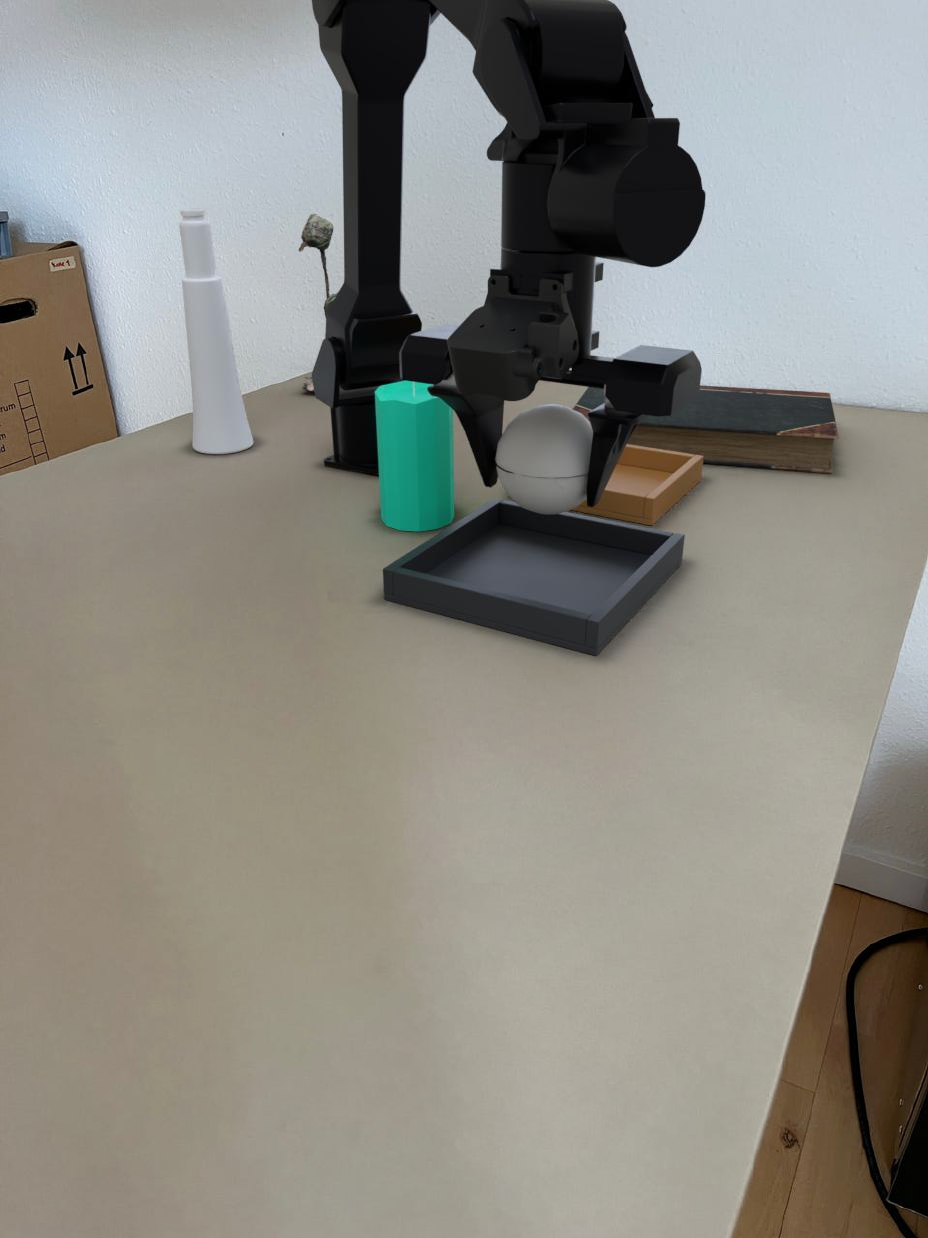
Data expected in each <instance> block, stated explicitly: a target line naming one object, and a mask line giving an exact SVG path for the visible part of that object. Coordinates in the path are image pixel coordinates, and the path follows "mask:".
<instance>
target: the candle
mask: <svg viewBox="0 0 928 1238" xmlns="http://www.w3.org/2000/svg"><path fill="white" fill-rule="evenodd" d="M432 385H433V384H426V383H419V382H412V381H401V382H396V383H391V384H386V385H382V386H379V387H378V389H377V390H376V391H375V407H376V426H377V445H378V464H379V474H378V481H379V498H380V499H379V500H380V515H381V516H380V519H381V521H382V522H383V524H384V525H385V526H386V527H389V528H392V529H395V530H399V531H404V532H405V531H406V532H407V531H408V532H426V531H432V530H439V529H441V528H443V527H445V526H449V525H450V524H452V522H453V520H454V518H455V464H454V463H455V462H454V461H455V460H454V458H455V457H454V456H455V455H454V410H453V409H452V408H451V407H450V406H449V405H447V404H446V403H445V402H444V401H443V400H442V399H440V398H439V397H435V396H431V395H430V394H429V392H428V390H427V388H428V387H429V386H432Z"/></svg>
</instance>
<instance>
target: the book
mask: <svg viewBox="0 0 928 1238" xmlns="http://www.w3.org/2000/svg"><path fill="white" fill-rule="evenodd" d="M604 403H605V396H604V389H601V388H593V387H587V388H586V389H585V391H584V392H583V394H582V395H581V396H580V398H579V399H578V401H577V402H576V403H575V405H574V406H573V407H572V409H573V410H575V411H577V412H579V413H581V414H583V415H584V416H585V418H586V419H587V420H588V421H589V422H590V420H589V417H588V413H589V412H590V411H592V410H594V409H595V408H597V407H599V406H600V405H602V404H604ZM834 411H835V410H834V407H833V402H832V397H831V393H830V392H820V391H807V390H789V389H773V388H772V389H771V388H770V389H769V388H751V387H738V386H737V387H735V386H719V385H718V386H717V385H701V384H700V390H699V396H698V397H696V398H695V399H694V400H692V401H691V402H689V403H688V404H687V405H685V406H684V407H682V408H681V409H680V410H678V411H677V412H675V413H674V414H672V415H671V416H659V417H658V416H651V415H650V416H649V417H647V418H646V419H645V420H643V421H642V422H640V423H639V425H638V426H637V428H636V430H635V431H634V433H633V434H632V436H631V437H630V439H629V441H628V443H627V444H630V445H636V446H643V447H649V448H656V449H662V450H669V451H675V452H682V453H688V454H694V455H701V456H704V459H703V464H708V465H721V466H732V467H733V466H734V467H745V468H756V469H757V468H758V469H759V468H760V469H770V470H783V471H784V470H785V471H795V472H796V471H797V472H808V473H820V474H832V473H833V463H832V462H833V461H832V452H833V451H832V450H833V445H834V441H835V440H839V438H840V436H839V431H838V427H837V421H836V416H835V412H834Z"/></svg>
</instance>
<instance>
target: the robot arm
mask: <svg viewBox="0 0 928 1238" xmlns="http://www.w3.org/2000/svg"><path fill="white" fill-rule="evenodd" d="M311 6H312V7H311V8H312V12H313V16H314V19H315V21H316V23H317V26H318V27H317V28H318V29H317V30H318V40H319V41H318V42H319V48H320V52H321V54H322V55H323V57H324V59H325V61H326V64H327V65H328V66H329V68H330V70H331V72H332V74H333V76H334V78H335V80H336V82H337V83H338V85H339V87H340V89H341V110H342V111H341V119H342V120H341V122H342V123H341V125H342V126H341V127H342V196H343V199H342V200H343V201H342V202H343V205H342V206H343V209H342V210H343V283H342V285H341V287H340V288H339V290H338V291H337V293H338V294H337V295H336V297H335V299H334V301H333V302H332V304H331V306H330V307H329V309H328V311H327V313H326V318H325V333H324V334H325V335H324V338H323V340H322V342H321V344H320V347H319V351H318V352H317V353H318V354H317V356H316V359H315V362H314V366H313V369H312V372H311V377H312V382H313V387H314V391H313V392H314V396H315V398H316V399H317V400H318V401H320V402H321V403H323V404H325V405H326V406H328V407H329V410H330V411H329V412H330V424H331V425H330V426H331V438H332V450H333V454H332V455H329V456H327V457H324V458H323V465H324V466H329V467H335V468H339V469H345V470H351V471H355V472H360V473H365V474H371V475H379V464H378V445H377V426H376V407H375V391H376V390H377V389H378V387H379V386H382V385H386V384H391V383H396V382H401V381H412V382H419V383H426V384H433V385H432V386H429V387H428V388H427V390H428V392H429V394H430V395H431V396H435V397H439V398H440V399H442V400H443V401H444V402H445V403H446V404H447V405H449V406H450V407H451V408H452V409H453V412H454V413H455V415H456V416H457V418H458V420H459V422H460V424H461V426H462V429H463V431H464V433H465V436H466V438H467V441H468V445H469V446H470V450H471V453H472V456H473V458H474V460H475V463H476V466H477V469H478V471H479V474H480V477H481V480H482V482H483V485H484V487H486V488H492V487H494V486H495V485H497V483H498V480H499V477H498V474H497V468H496V465H495V464H494V457H495V456H496V452H497V446H498V442H499V440H500V438H501V437H502V435H503V425H504V413H505V402H519V401H523V400H524V399H527V398H529V397H530V396H531V395H532V394H533V393H534V391H535V389H536V385H537V384H538V383H539V381H542V382H549V383H556V384H564V385H571V386H578V387H587V388H588V387H593V388H601V389H604V396H605V403H604V404H602V405H600V406H599V407H597V408H595V409H594V410H592V411H590V412H589V413H588V417H589V420H590V424H591V427H592V430H593V438H592V446H591V454H590V462H589V470H588V479H587V506H588V507H594V506H595V505H596V504H598V502H599V500H600V498H601V496H602V494H603V492H604V490H605V488H606V486H607V484H608V482H609V480H610V477H611V475H612V473H613V471H614V469H615V467H616V465H617V463H618V461H619V459H620V457H621V454H622V453H623V451H624V448H625V446H626V445H627V443H628V441H629V439H630V437H631V436H632V434H633V433H634V431H635V430H636V428H637V426H638V425H639V423H640V422H642V421H643V420H645V419H646V418H647V417H649V416H650V415H651V416H658V417H659V416H671V415H672V414H674V413H675V412H677V411H678V410H680V409H681V408H682V407H684V406H685V405H687V404H688V403H689V402H691V401H692V400H694V399H695V398H696V397H698V396H699V390H700V385H701V381H702V371H703V369H702V364H701V361H700V360H699V358H698V356H697V354H696V353H695V351H694V350H691V349H681V348H671V347H665V346H664V347H663V346H655V345H654V346H653V345H644V344H639V345H638V346H635V347H634V348H631V349H629V350H628V351H626V352H624V353H622V354H620V355H618V356H615V357H609V356H601V355H591V353H592V351H594V350H596V349H598V348H599V347H600V346H599V345H600V331H599V330H593V320H594V303H595V302H594V301H595V284H596V283H598V282H601V281H603V280H604V266H605V265H604V264H605V262H602V261H601V262H599V261H597V258H600V259H605V260H610V261H615V262H619V263H620V262H622V263H626V264H631V265H637V266H642V267H647V268H660V267H662V266H666V265H668V264H671V263H672V262H673V261H675V260H676V259H678V258H679V257H681V256H682V254H683V253H684V252H685V251H686V250H687V249H688V248H689V247H690V245H691V244H692V242H693V241H694V239H695V237H696V236H697V234H698V231H699V229H700V226H701V225H702V221H703V217H704V212H705V208H706V195H707V194H706V191H705V190H704V189H703V182H702V176H701V173H700V171H699V168H698V165H697V163H696V162H695V161H694V159H693V157H692V156H691V154H690V153H689V152H687V151H686V150H685V149H684V148H683V147H681V146H680V145H679V138H680V129H681V122H680V119H679V118H678V117H656V116H655V113H654V110H653V108H654V103H653V101H652V100H651V97H650V96H649V94H648V92H647V90H646V87H645V84H644V81H643V78H642V75H641V72H640V68H639V66H638V64H637V63H638V62H637V60H636V57H635V55H634V51H633V48H632V45H631V43H630V40H629V37H628V35H627V32H626V31H627V30H628V29H627V27H628V26H627V23H626V20H625V17H624V15H623V13H622V11H621V10H620V8H619V7H618V6H617V5H616V3H615V2H612V1H610V0H311ZM440 15H442V16H443V17H444V18H445V19H446V20H447V21H448V22H449V23H450V24H451V25H452V26H453V27H454V28H455V29H456V30H457V31H458V32H459V33H460V34H461V35H462V36H463V37H464V38H465V39H466V40H467V41H468V42H469V43H470V45H471V46H472V48H473V50H474V51H475V54H474V60H473V64H472V65H473V66H472V74H473V77H474V78H475V79H476V81H477V83H478V84H479V86H480V88H481V90H482V91H483V92H484V94H485V95H486V97H487V99H488V100H489V102H490V104H491V105H492V107H493V108H494V110H495V111H496V113H497V114H498V115H499V116H502V117H503V118H504V119H505V121H506V124H505V126H504V127H503V129H502V130H501V131H500V133H499V134H498V135H496V137H495V138H493V139H492V141H491V142H490V144H489V145H488V147H487V149H486V158H487V159H488V160H489V161H491V162H501V204H500V205H501V208H500V209H501V211H500V212H501V214H500V216H501V217H500V222H501V223H500V266H496V267H492V268H489V277H488V279H487V293H486V297H485V300H484V304H483V305H482V306H480V307H477V308H476V309H474V310H473V311H472V312H471V313H470V314H469V315H468V316H467V317H466V318H465V319H464V321H463V322H461V324H458V325H457V324H448V323H441V324H439V325H436V326H432V327H429V328H426V329H422V328H423V322H422V320H421V318H420V315H419V314H418V313H416V312H414V310H413V309H412V307H411V305H410V304H409V302H408V300H407V298H406V296H405V294H404V293H403V290H402V285H401V284H402V281H401V280H402V275H401V274H402V240H403V239H402V238H403V236H402V233H403V232H402V231H403V193H404V191H403V186H404V178H403V177H404V141H405V140H404V139H405V138H404V137H405V103H406V102H405V101H406V94H407V93H408V91H409V90H410V88H411V86H412V84H413V83H414V81H415V79H416V77H417V75H418V74H419V72H420V70H421V68H422V67H423V65H424V62H425V61H426V59H427V57H428V48H429V39H430V27H431V26H432V25H433V23H435V21H436V20H437V18H438V17H439V16H440Z"/></svg>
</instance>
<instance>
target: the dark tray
mask: <svg viewBox="0 0 928 1238" xmlns="http://www.w3.org/2000/svg"><path fill="white" fill-rule="evenodd" d="M685 538H686V535H685V534H684V533H683V534H682V533H677V532H671V531H665V530H662V529H656V528H652V527H651V528H650V527H645V526H642V525H641V526H640V525H636V524H630V523H625V522H620V521H615V520H609V519H604V518H599V517H596V516H595V517H594V516H589V515H584V514H580V513H573V512H569V511H566V512H562V513H558V514H551V515H547V514H539V513H536V512H533V511H530V510H527V509H525V508H522V507H521V506H520V505H518V504H517V503H516V502H515V501H513V500H507V499H504V498H503V499H502V498H499V497H494V498H493V499H490V500H489V501H488V502H486V503H485V504H483V505H481V506H480V507H478V508H476V509H475V510H474V511H472V512H470V513H468V514H467V515H466V516H463V517H462V518H461V519H459V520H458V521H456V522H454V523H453V524H451V525H450V526H448V527H447V528H445V529H443V530H442V531H440V532H439V533H437V534H435V535H434V536H433V537H431V538H429V539H428V540H426V541H424V542H423V543H421V544H420V545H418V546H417V547H415V548H414V549H411V550H410V551H409V552H407V553H406V554H404V555H403V556H401V557H399V558H398V559H395V560H394V561H393V562H391V563H390V564H388V565H386V566H385V567H383V568H382V581H383V582H382V583H383V584H382V585H383V594H384V595H383V599H384V600H386V601H390V602H393V603H396V604H401V605H404V606H408V607H412V608H415V609H419V610H423V611H428V612H431V613H434V614H437V615H441V616H446V617H449V618H453V619H457V620H461V621H464V622H468V623H472V624H476V625H479V626H482V627H486V628H489V629H490V628H491V629H495V630H498V631H502V632H505V633H509V634H512V635H516V636H521V637H524V638H528V639H531V640H535V641H540V642H542V643H547V644H550V645H553V646H554V645H555V646H559V647H561V648H566V649H570V650H573V651H576V652H580V653H584V654H588V655H592V656H598V655H599V654H600V653H601V652H602V651H603V650H604V648H606V646H607V645H609V643H610V642H611V641H612V640H613V639H614V637H616V636H617V634H618V633H619V632H620V631H621V630H622V629H623V628H624V627H625V626H626V624H627V623H628V622H630V620H632V618H633V617H634V616H635V615H636V614H637V613H638V612H639V611H640V609H641V608H643V606H644V605H645V604H646V603H647V602H648V601H649V600H650V599H651V598H652V596H653V595H654V594H655V593H656V592H657V591H658V590H659V589H660V588H661V587H662V585H663V584H665V583H666V581H667V580H668V579H669V578H670V577H671V576H672V575H673V574H674V572H676V571H677V569H679V567H680V566H681V565H682V563H683V555H684V548H685V547H684V546H685Z"/></svg>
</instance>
